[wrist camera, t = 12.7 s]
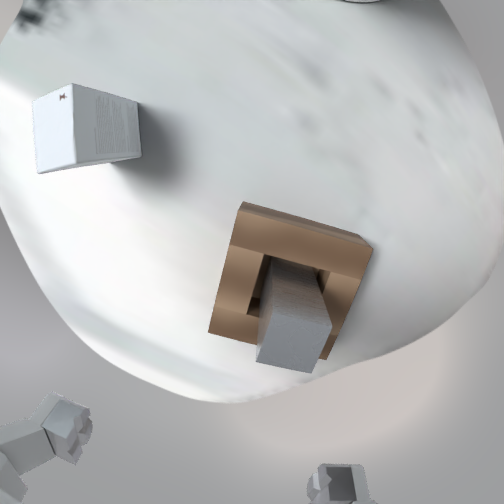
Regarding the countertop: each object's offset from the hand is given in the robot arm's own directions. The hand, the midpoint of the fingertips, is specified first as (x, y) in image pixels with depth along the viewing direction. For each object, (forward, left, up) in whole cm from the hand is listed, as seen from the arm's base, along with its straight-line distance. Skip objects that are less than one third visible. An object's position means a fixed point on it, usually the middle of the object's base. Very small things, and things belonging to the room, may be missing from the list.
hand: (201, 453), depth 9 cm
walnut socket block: (+2, +4, -24) cm, 24 cm away
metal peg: (+2, +4, -23) cm, 23 cm away
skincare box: (-8, -16, -24) cm, 30 cm away
